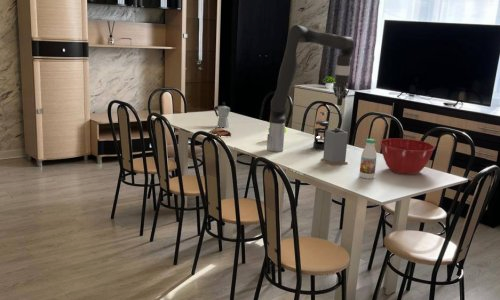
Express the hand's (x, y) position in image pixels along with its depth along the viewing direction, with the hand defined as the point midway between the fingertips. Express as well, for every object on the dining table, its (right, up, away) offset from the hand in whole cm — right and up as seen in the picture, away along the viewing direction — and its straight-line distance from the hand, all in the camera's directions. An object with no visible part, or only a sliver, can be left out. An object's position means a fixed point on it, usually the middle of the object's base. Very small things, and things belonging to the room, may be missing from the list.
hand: (339, 105), depth 284 cm
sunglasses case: (-71, -15, +66) cm, 97 cm away
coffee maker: (-70, -8, +91) cm, 116 cm away
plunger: (-2, -26, +6) cm, 27 cm away
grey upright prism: (-2, -32, +8) cm, 33 cm away
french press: (-5, -24, +41) cm, 48 cm away
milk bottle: (+11, -39, -19) cm, 44 cm away
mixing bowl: (+35, -37, -3) cm, 50 cm away
